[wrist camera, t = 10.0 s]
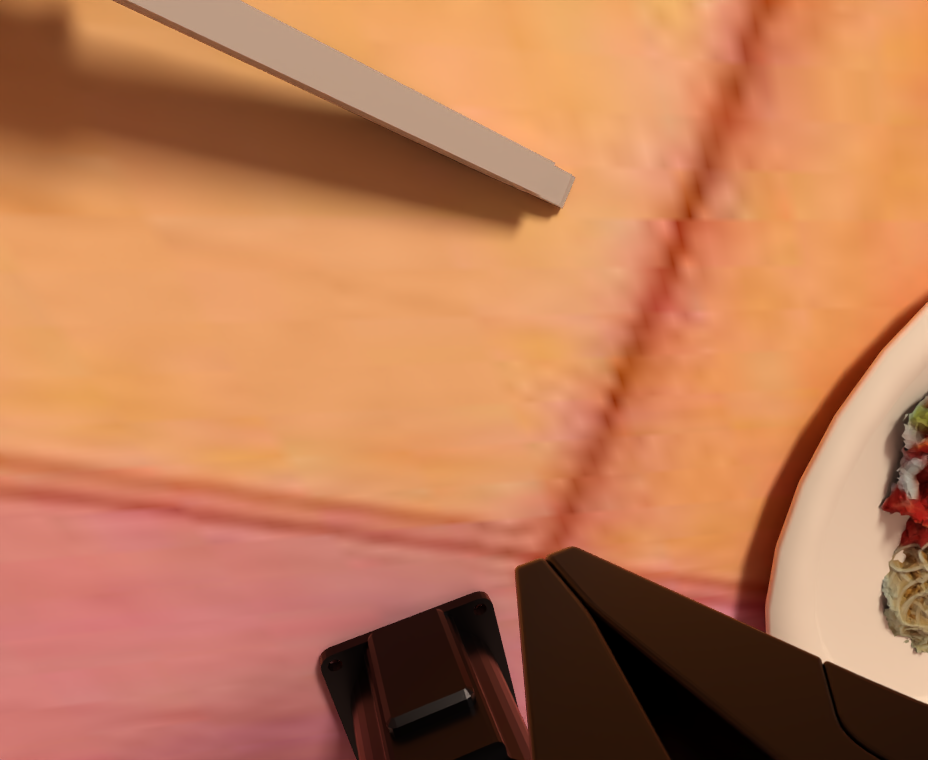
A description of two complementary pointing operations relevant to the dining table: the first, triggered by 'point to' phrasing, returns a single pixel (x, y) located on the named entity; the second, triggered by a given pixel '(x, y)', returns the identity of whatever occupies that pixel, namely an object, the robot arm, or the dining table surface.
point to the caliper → (358, 90)
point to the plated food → (864, 529)
